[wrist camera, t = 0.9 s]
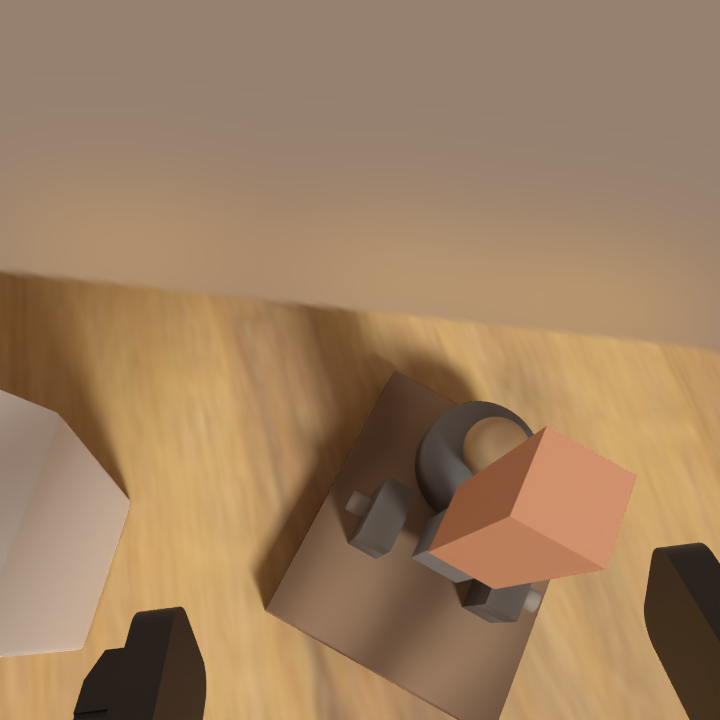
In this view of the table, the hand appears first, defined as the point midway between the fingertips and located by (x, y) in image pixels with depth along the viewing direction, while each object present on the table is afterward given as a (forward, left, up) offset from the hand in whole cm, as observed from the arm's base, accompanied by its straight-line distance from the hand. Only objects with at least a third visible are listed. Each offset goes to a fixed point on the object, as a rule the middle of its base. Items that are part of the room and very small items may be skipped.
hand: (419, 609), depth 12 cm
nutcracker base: (+4, +7, -24) cm, 25 cm away
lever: (+4, +6, -20) cm, 21 cm away
